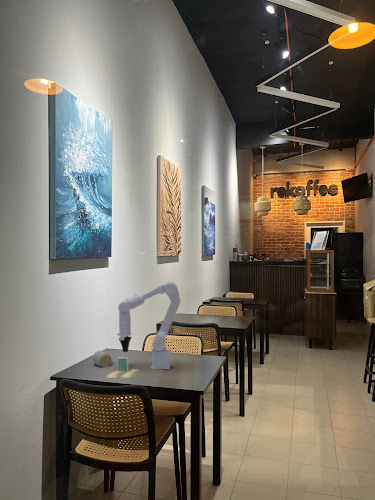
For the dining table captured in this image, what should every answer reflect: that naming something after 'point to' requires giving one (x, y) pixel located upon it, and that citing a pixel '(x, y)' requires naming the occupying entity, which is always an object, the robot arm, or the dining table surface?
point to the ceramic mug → (102, 359)
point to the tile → (122, 363)
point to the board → (123, 373)
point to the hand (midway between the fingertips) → (125, 351)
